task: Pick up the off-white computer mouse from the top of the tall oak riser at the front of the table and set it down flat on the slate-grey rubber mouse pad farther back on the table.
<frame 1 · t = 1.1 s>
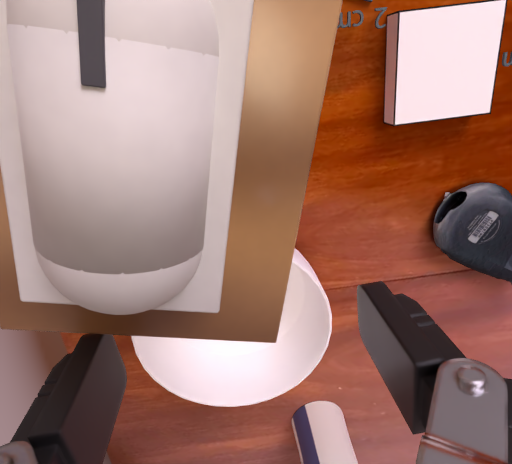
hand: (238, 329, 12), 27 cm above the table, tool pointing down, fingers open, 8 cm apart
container: (433, 55, 35), on the table
bowl: (232, 287, 43), on the table
electronic device: (484, 228, 43), on the table
water bottle: (316, 417, 54), on the table
riser: (205, 86, 34), on the table
mouse: (147, 131, 8), point 28 cm above the table, touching riser
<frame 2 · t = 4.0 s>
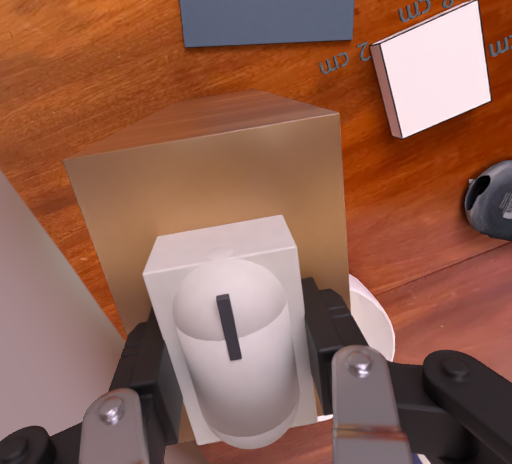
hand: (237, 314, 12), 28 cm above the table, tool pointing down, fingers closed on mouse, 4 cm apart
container: (421, 64, 37), on the table
bowl: (293, 313, 47), on the table
riser: (226, 154, 38), on the table
mouse: (237, 309, 13), point 28 cm above the table, touching gripper, riser
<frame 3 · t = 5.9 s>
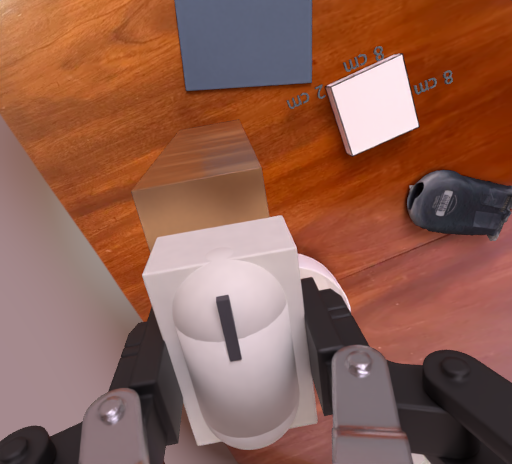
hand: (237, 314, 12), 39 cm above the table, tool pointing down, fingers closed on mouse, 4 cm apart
mouse pad: (246, 33, 44), on the table
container: (366, 99, 48), on the table
bowl: (274, 293, 59), on the table
electronic device: (450, 201, 55), on the table
riser: (218, 169, 50), on the table
mouse: (237, 310, 13), point 39 cm above the table, touching gripper
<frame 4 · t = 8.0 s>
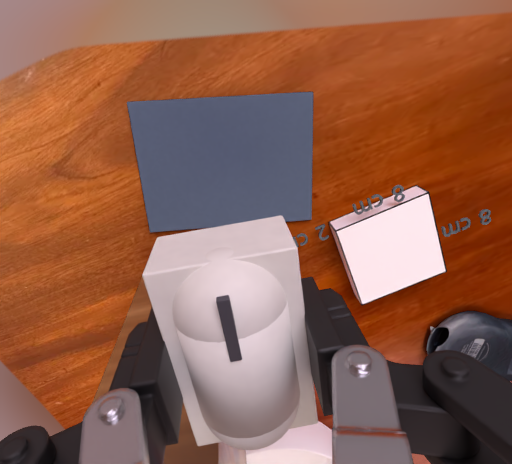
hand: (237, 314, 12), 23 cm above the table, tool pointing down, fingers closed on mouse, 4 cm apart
mouse pad: (227, 165, 34), on the table
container: (380, 234, 38), on the table
bowl: (264, 438, 49), on the table
electronic device: (478, 338, 45), on the table
riser: (193, 314, 40), on the table
mouse: (237, 310, 13), point 23 cm above the table, touching gripper
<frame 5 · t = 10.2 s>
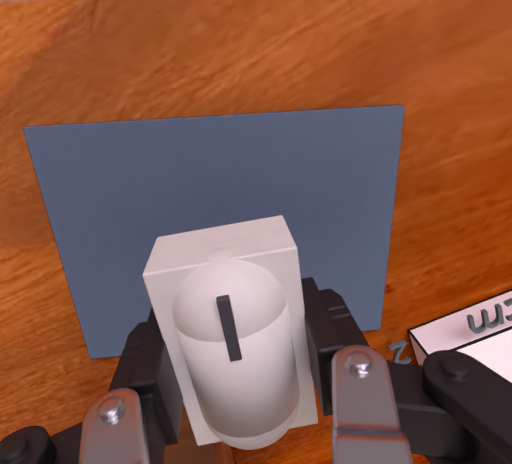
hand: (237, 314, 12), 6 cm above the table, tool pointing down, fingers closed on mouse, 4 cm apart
mouse pad: (230, 242, 18), on the table
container: (491, 344, 22), on the table
mouse: (237, 310, 13), point 6 cm above the table, touching gripper
when the fingers open (1 cm above the table, at t = 11.9 s): mouse stays where it is, resting on mouse pad.
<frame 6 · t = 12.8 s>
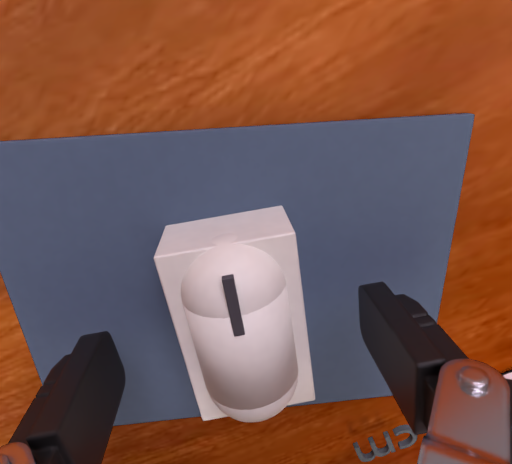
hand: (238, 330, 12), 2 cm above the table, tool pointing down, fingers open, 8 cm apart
mouse pad: (238, 289, 14), on the table
mouse: (240, 295, 13), resting on mouse pad
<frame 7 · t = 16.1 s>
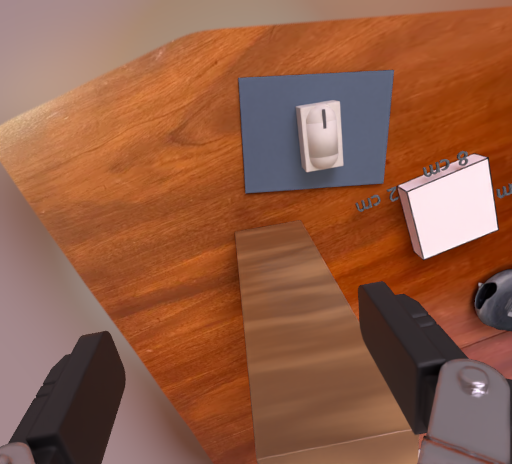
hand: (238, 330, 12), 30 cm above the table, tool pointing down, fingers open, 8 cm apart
mouse pad: (315, 134, 39), on the table
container: (440, 197, 44), on the table
riser: (274, 269, 45), on the table
mouse: (316, 134, 39), resting on mouse pad
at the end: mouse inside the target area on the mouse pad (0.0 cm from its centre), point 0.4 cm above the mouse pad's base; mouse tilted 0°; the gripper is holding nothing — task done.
